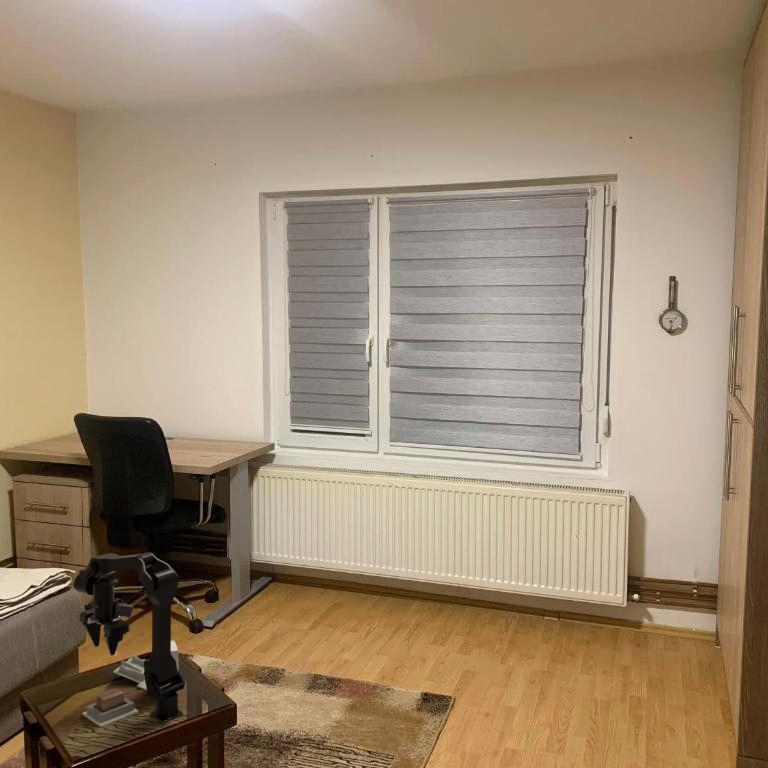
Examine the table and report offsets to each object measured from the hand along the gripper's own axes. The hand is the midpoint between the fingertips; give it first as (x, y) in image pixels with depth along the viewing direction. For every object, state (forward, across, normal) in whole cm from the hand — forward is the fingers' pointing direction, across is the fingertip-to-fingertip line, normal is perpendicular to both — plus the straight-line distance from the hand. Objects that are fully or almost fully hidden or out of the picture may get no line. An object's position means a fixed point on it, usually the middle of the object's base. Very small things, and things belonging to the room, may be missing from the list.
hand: (104, 650), depth 227 cm
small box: (+12, -13, -12) cm, 21 cm away
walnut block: (+12, -14, +6) cm, 19 cm away
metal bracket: (+13, +1, -12) cm, 17 cm away
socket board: (+12, -14, +6) cm, 19 cm away
